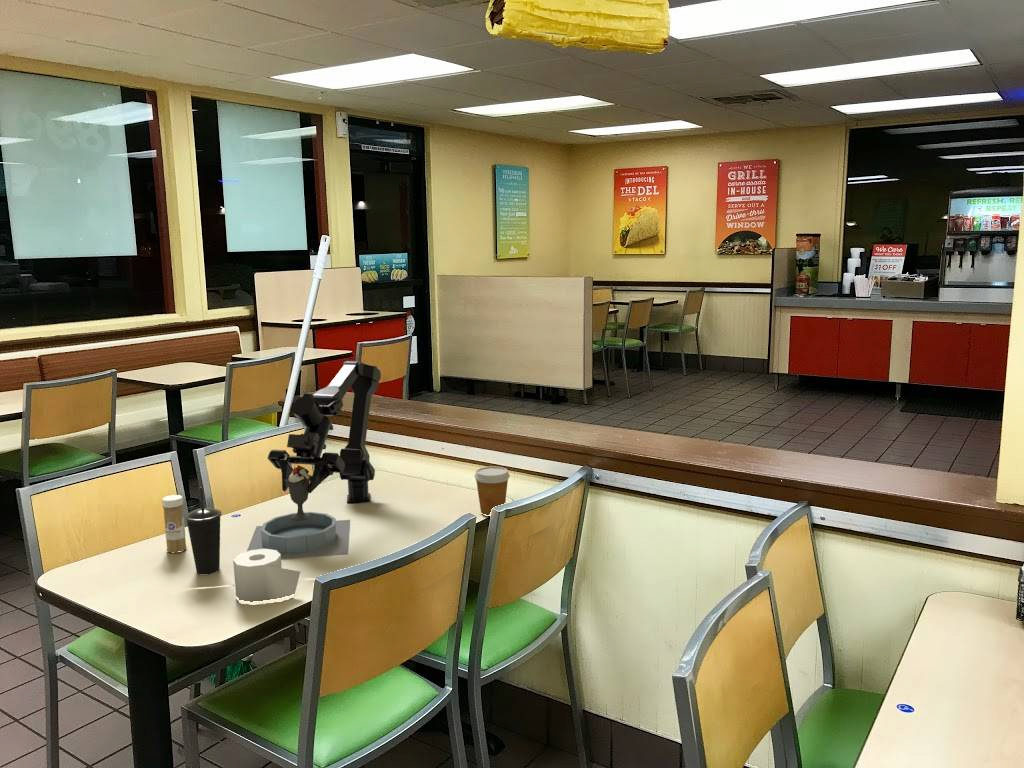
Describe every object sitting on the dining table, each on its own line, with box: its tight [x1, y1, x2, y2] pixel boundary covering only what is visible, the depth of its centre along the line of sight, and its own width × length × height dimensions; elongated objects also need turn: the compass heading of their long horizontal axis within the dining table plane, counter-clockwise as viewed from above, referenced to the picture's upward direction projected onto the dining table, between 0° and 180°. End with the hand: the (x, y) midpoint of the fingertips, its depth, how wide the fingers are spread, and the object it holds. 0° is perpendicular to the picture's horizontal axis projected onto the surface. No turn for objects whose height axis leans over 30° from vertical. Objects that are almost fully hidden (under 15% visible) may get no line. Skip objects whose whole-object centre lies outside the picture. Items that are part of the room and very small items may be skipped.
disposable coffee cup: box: [473, 465, 511, 515], centre depth 215 cm, size 10×10×12 cm
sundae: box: [284, 461, 312, 521], centre depth 196 cm, size 7×7×15 cm
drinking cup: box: [184, 486, 222, 575], centre depth 179 cm, size 8×8×20 cm
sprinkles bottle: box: [161, 494, 188, 553], centre depth 192 cm, size 5×5×14 cm
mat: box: [246, 519, 351, 561], centre depth 198 cm, size 24×24×1 cm
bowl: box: [261, 511, 337, 554], centre depth 198 cm, size 18×18×4 cm
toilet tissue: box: [232, 549, 301, 602], centre depth 168 cm, size 9×13×9 cm
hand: (296, 491), depth 195 cm, fingers closed on sundae, 6 cm apart
